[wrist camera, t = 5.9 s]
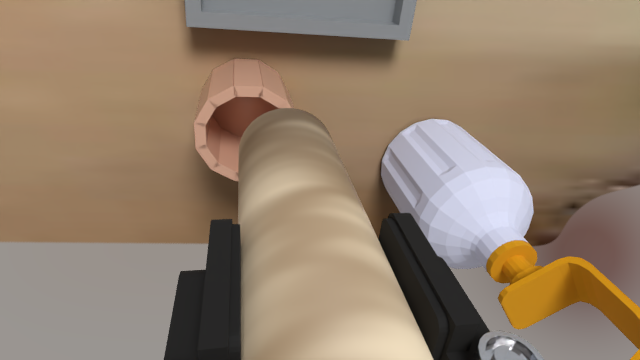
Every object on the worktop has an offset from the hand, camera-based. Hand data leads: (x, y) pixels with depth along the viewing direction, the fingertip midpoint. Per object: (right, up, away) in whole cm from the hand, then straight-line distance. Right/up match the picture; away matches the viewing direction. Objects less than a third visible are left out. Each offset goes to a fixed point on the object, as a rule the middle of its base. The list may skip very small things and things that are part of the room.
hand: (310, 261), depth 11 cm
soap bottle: (+10, +4, +28) cm, 30 cm away
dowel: (-1, +3, +6) cm, 7 cm away
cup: (-6, +9, +22) cm, 24 cm away
